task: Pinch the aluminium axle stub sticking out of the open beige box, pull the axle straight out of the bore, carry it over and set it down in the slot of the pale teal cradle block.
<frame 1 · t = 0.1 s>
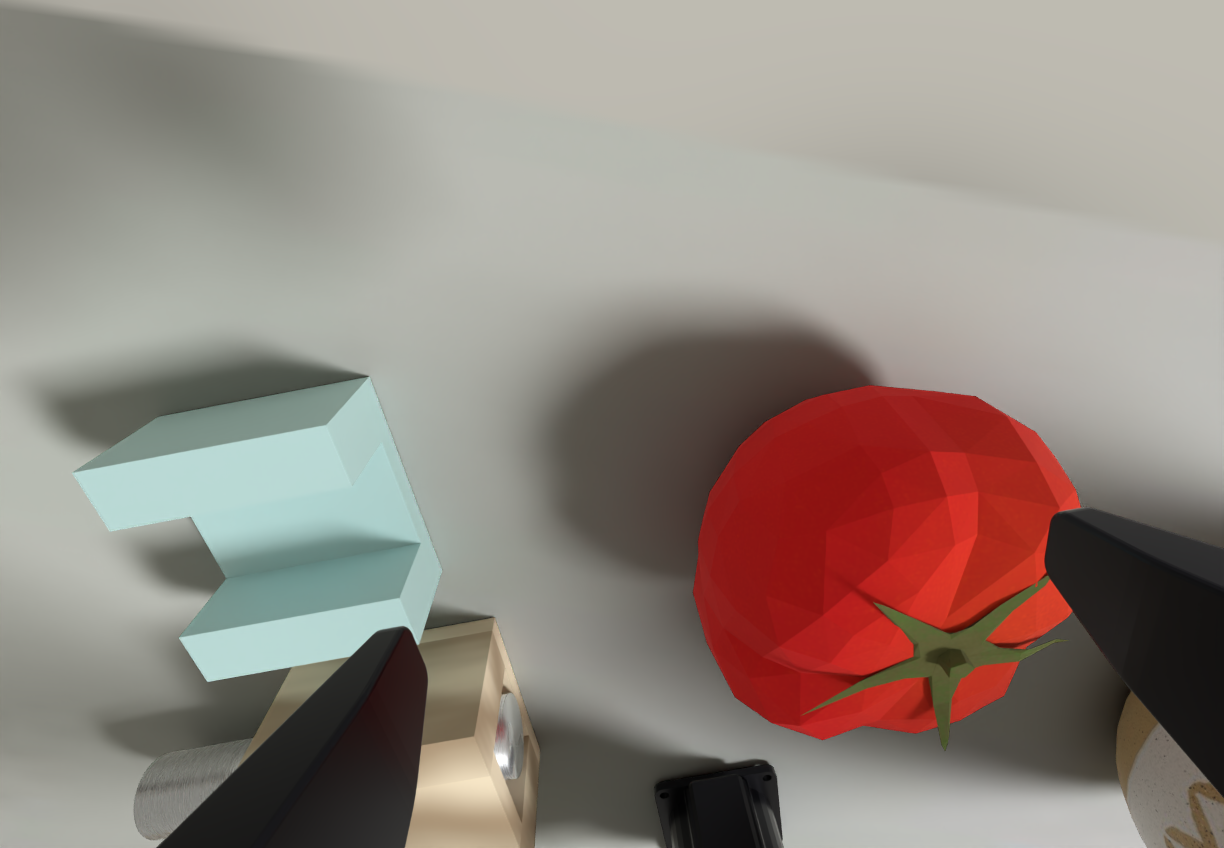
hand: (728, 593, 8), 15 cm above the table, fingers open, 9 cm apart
cradle: (310, 499, 24), on the table
axle: (351, 731, 28), point 1 cm above the table, touching open beige box
open beige box: (427, 704, 29), on the table
tomato: (810, 480, 25), on the table
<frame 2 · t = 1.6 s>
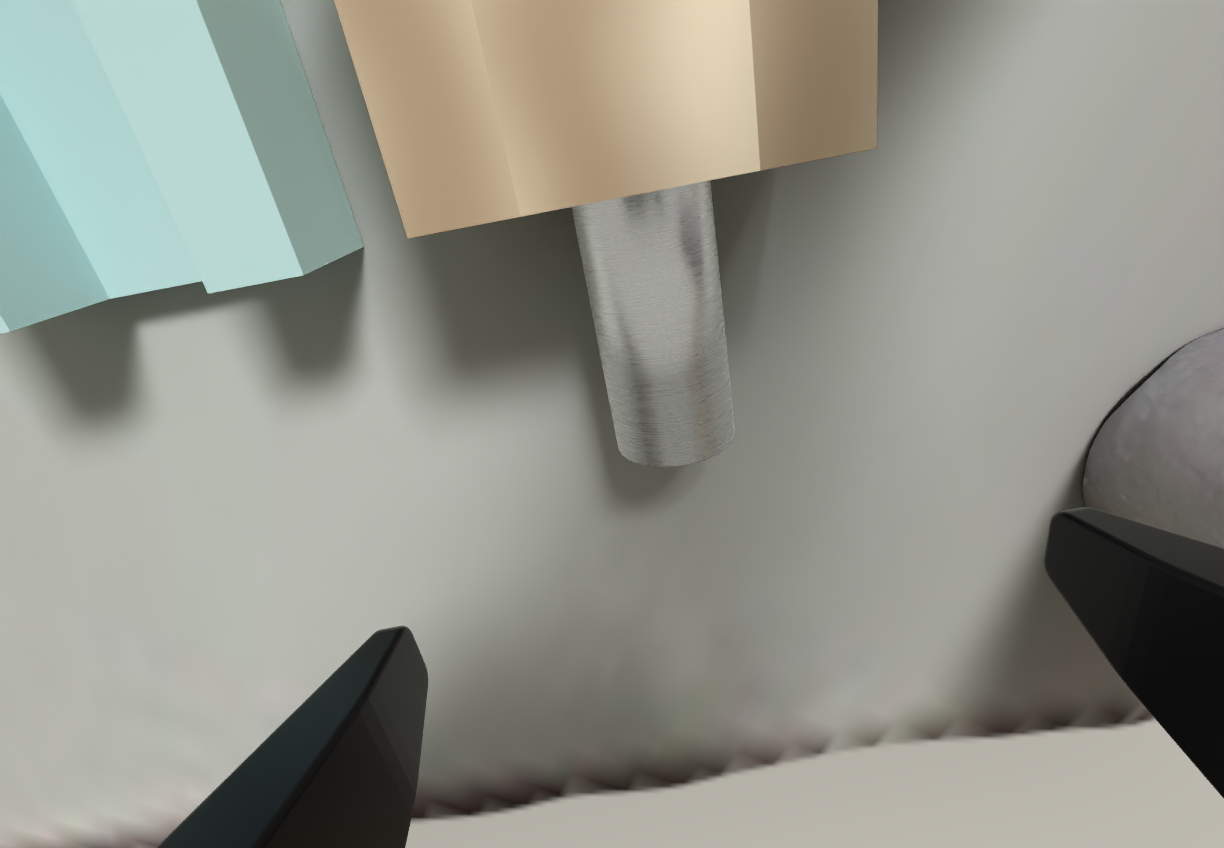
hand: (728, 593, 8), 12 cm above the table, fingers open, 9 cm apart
cradle: (141, 122, 16), on the table
axle: (614, 138, 16), point 1 cm above the table, tilted 10°, touching open beige box
pillar candle: (1207, 442, 22), on the table
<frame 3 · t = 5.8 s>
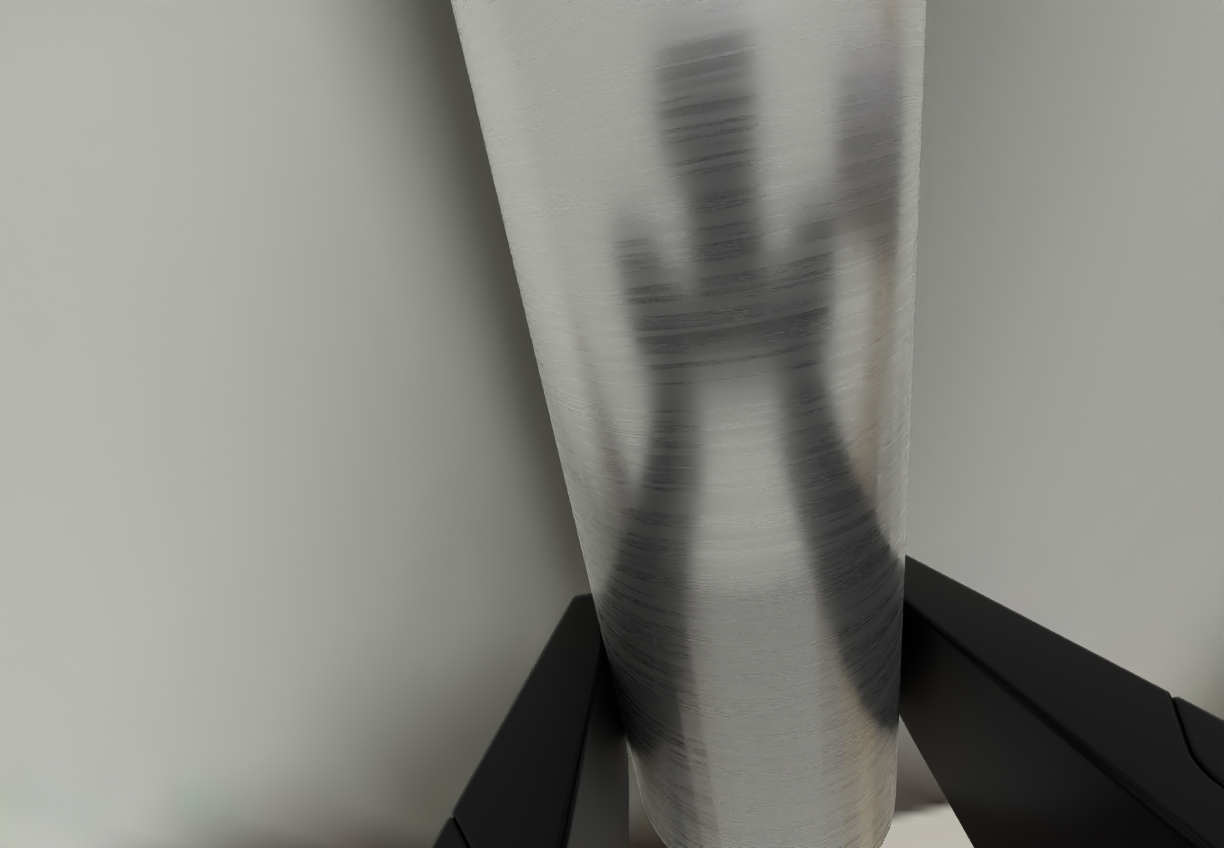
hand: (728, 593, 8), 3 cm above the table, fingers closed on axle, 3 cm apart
axle: (656, 122, 7), point 2 cm above the table, touching gripper
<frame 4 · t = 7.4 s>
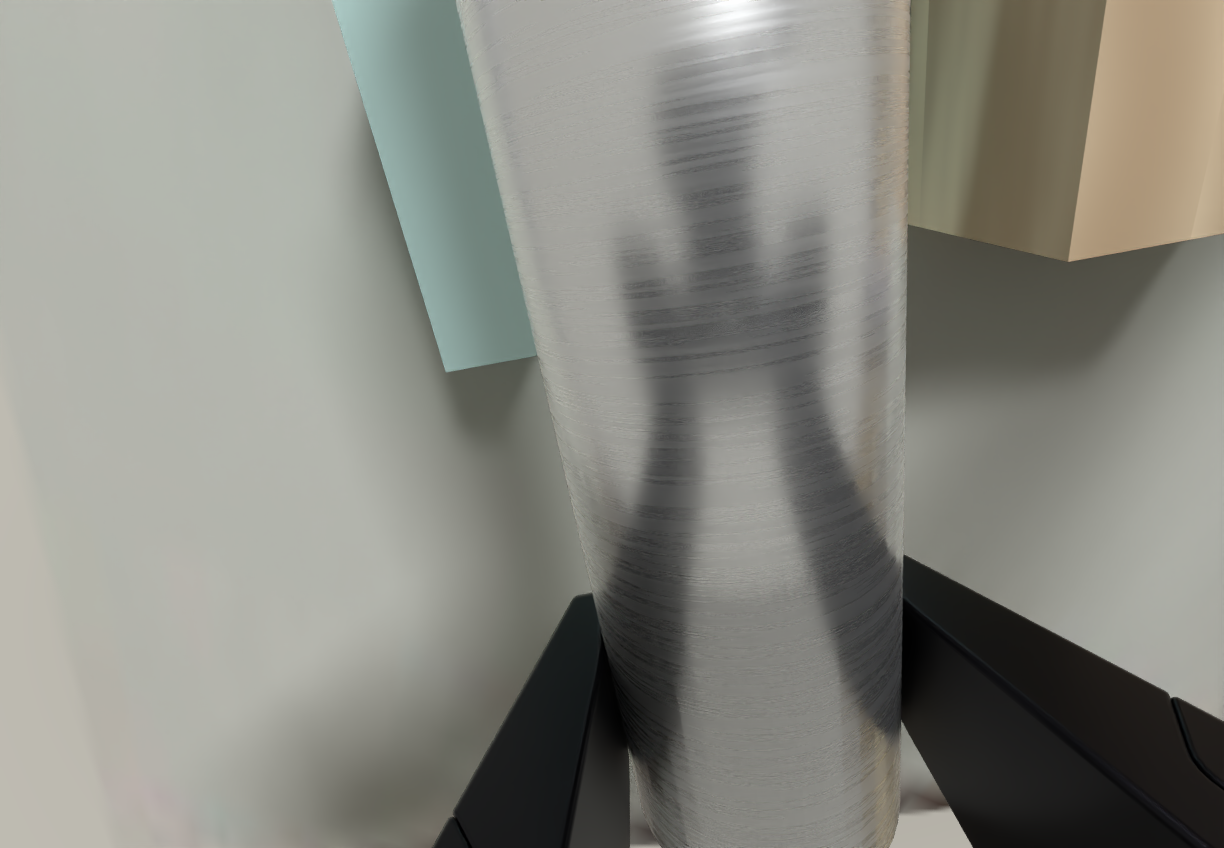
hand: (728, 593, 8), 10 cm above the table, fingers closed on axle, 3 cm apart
cradle: (609, 134, 15), on the table
axle: (655, 135, 7), point 9 cm above the table, touching gripper
when the fingers open (4 cm above the table, at t = 8.4 s): axle drops 3 cm, resting on cradle.
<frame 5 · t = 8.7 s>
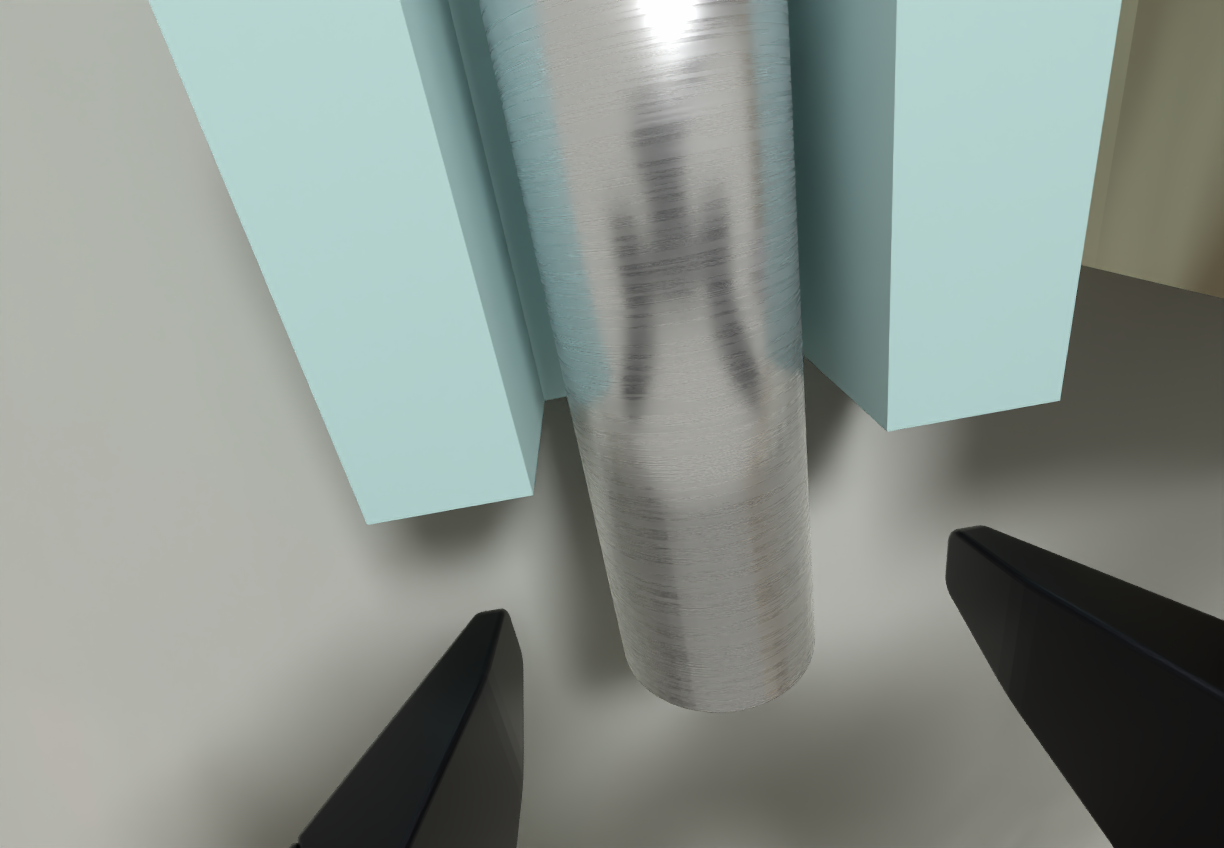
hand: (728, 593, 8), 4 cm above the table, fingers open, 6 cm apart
cradle: (631, 129, 10), on the table
axle: (638, 153, 9), point 1 cm above the table, touching cradle
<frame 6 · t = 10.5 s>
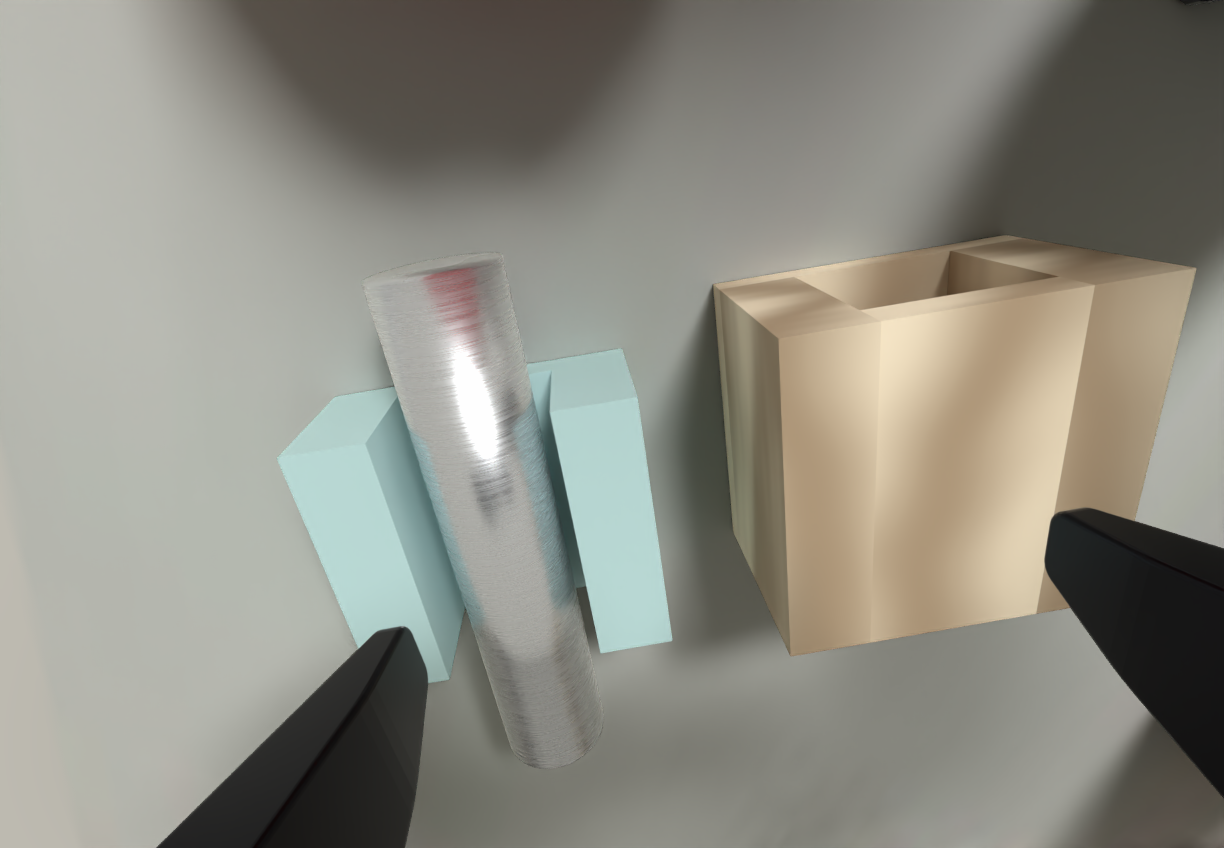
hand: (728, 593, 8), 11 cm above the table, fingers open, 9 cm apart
cradle: (507, 483, 20), on the table
axle: (505, 507, 20), point 1 cm above the table, touching cradle
open beige box: (857, 396, 20), on the table
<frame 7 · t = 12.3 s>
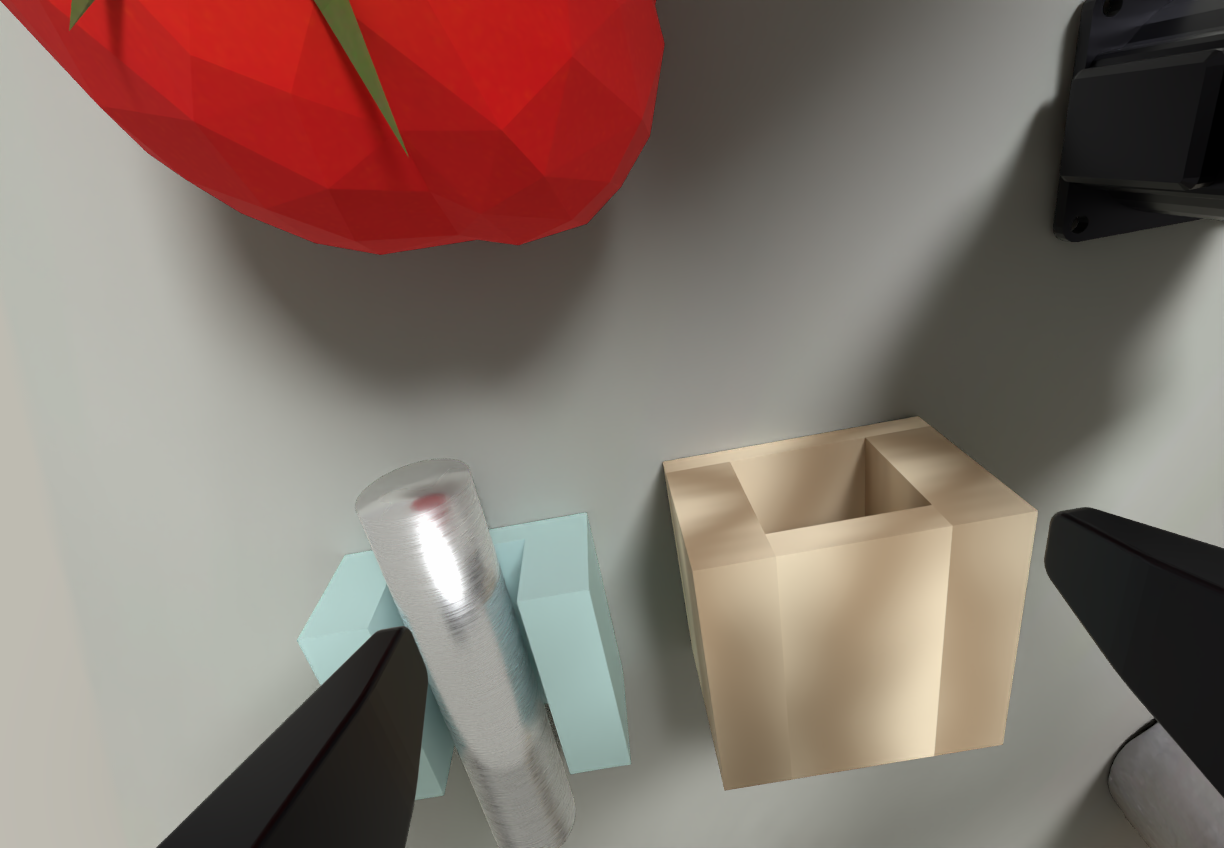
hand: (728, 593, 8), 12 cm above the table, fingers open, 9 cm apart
cradle: (493, 616, 24), on the table
axle: (491, 642, 23), point 1 cm above the table, touching cradle
pillar candle: (1199, 749, 30), on the table
open beige box: (795, 543, 23), on the table
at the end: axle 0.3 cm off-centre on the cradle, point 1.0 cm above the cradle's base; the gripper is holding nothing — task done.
